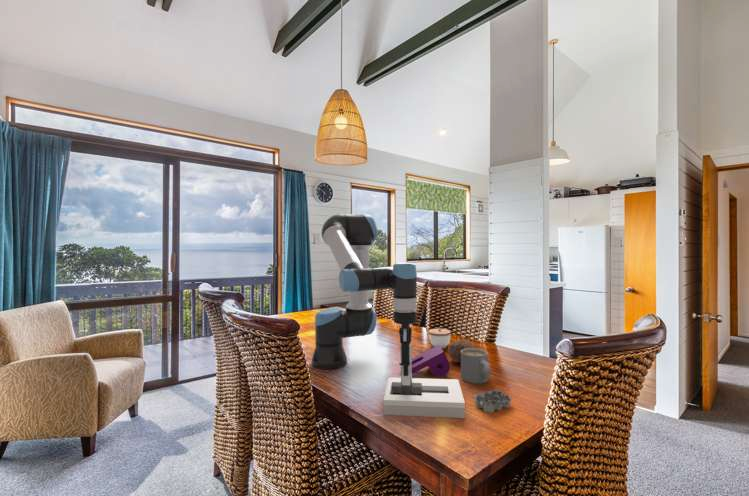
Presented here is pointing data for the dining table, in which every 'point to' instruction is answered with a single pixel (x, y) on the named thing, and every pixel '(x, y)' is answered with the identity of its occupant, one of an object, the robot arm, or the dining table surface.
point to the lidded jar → (439, 337)
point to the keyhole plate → (425, 398)
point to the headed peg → (408, 388)
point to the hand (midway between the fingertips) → (406, 382)
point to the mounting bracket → (432, 361)
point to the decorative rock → (458, 349)
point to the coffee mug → (474, 365)
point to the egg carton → (492, 400)
